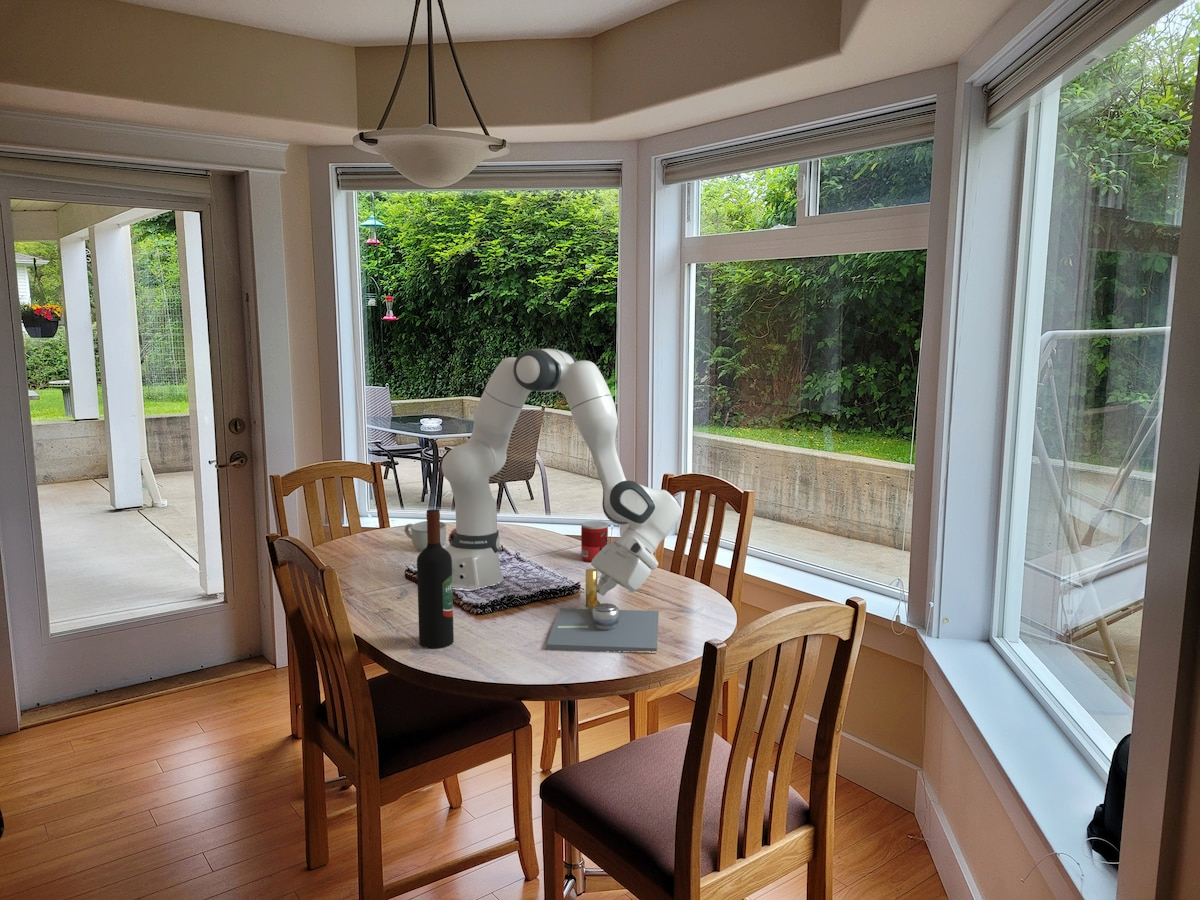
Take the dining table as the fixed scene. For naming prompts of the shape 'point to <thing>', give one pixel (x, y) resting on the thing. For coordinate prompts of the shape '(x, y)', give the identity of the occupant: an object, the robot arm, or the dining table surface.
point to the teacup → (423, 534)
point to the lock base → (604, 632)
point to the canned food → (593, 539)
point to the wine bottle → (435, 589)
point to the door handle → (601, 612)
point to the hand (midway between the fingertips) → (598, 592)
